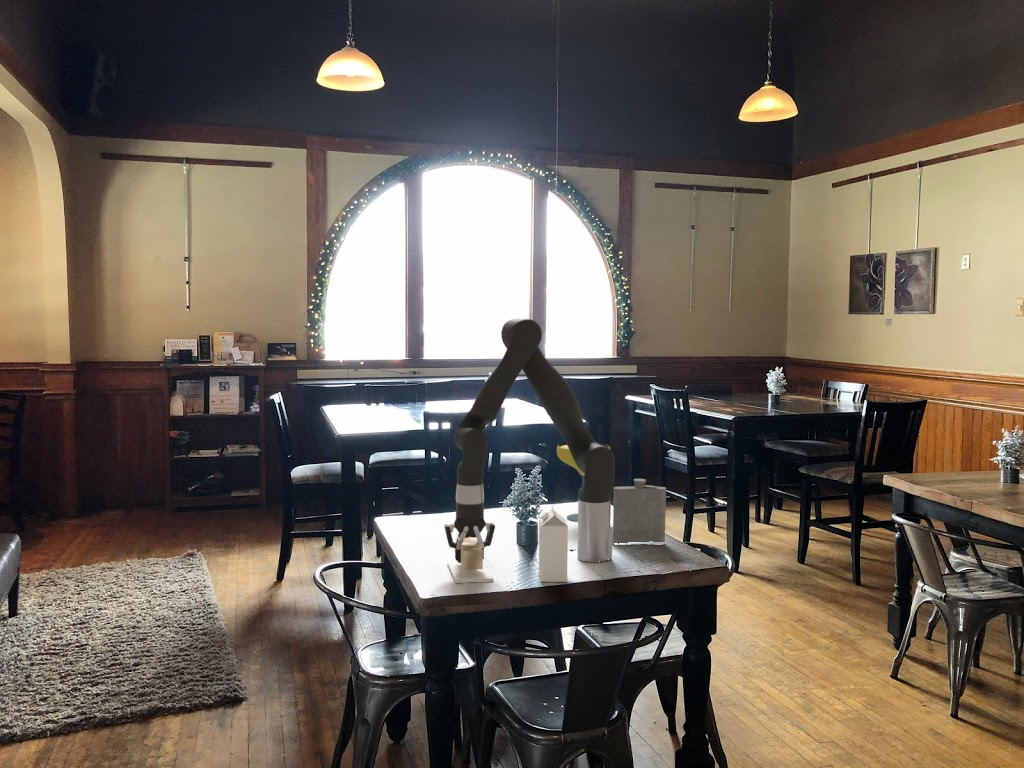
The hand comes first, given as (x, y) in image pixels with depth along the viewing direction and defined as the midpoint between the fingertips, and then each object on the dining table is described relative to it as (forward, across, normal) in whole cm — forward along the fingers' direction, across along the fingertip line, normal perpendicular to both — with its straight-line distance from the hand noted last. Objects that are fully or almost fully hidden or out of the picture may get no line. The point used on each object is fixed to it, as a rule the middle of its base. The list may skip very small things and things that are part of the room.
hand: (469, 561), depth 231 cm
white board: (+3, 0, 0) cm, 3 cm away
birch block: (-2, 0, +7) cm, 8 cm away
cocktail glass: (+3, +47, +52) cm, 70 cm away
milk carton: (+3, +21, -8) cm, 23 cm away
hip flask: (+3, +55, +18) cm, 58 cm away
